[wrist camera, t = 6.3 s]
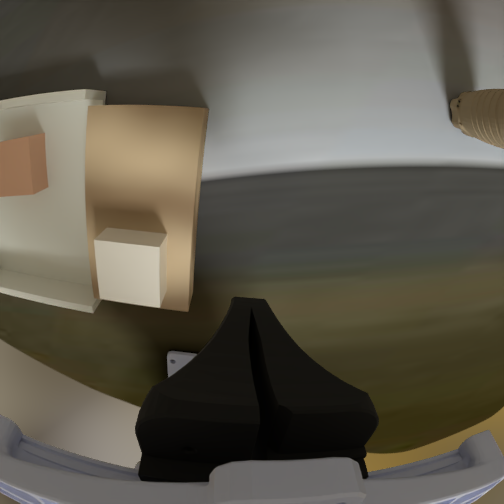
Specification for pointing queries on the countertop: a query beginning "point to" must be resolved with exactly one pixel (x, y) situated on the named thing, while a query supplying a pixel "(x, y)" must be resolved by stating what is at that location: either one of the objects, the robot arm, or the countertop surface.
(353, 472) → the robot arm
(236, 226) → the countertop surface
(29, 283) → the tray
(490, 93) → the handle
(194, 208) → the oak board
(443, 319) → the countertop surface
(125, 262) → the cream tile
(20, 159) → the terracotta tile
